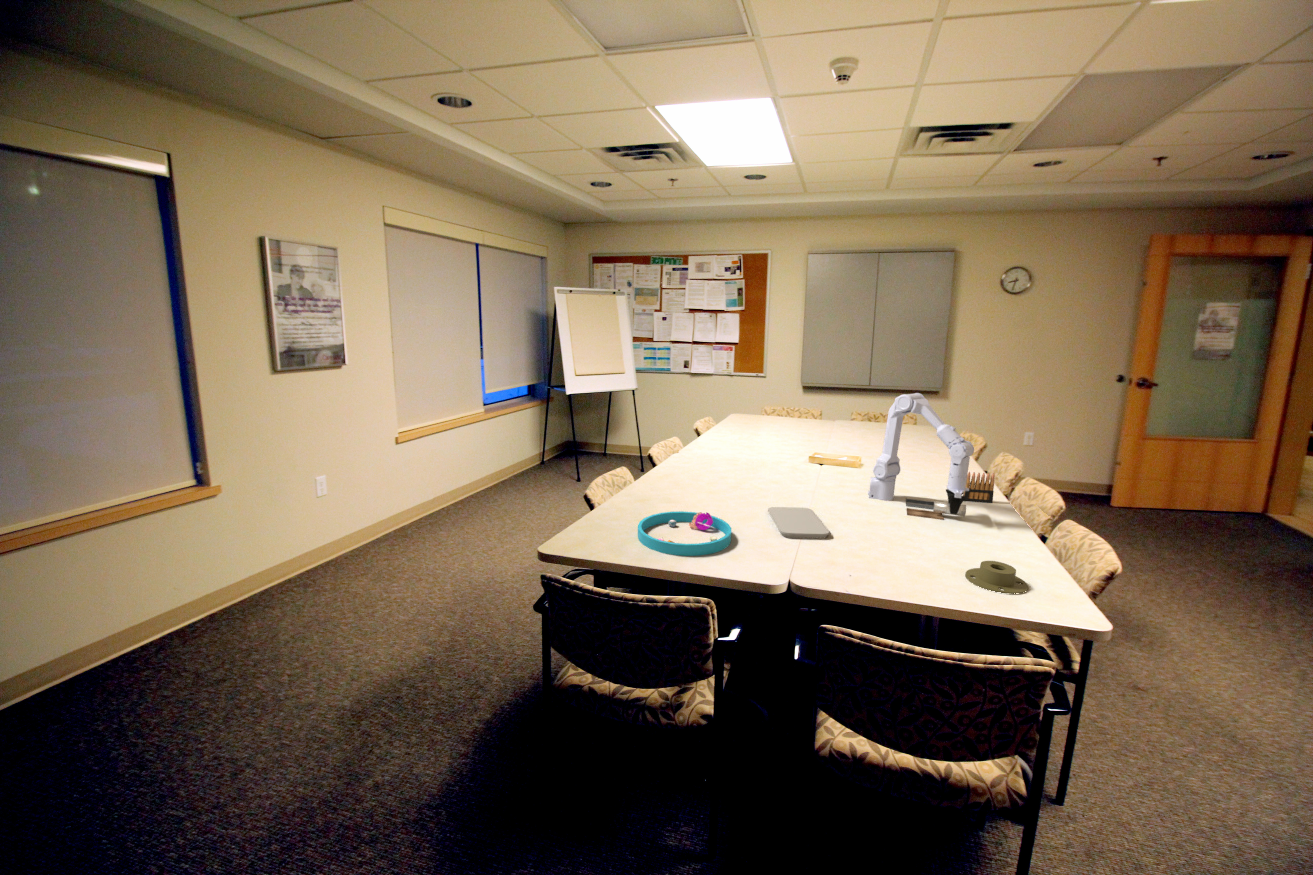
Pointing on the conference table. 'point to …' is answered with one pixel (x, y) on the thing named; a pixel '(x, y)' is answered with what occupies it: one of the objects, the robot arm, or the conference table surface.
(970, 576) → the flange
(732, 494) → the conference table surface
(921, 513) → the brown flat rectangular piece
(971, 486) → the ammunition clip
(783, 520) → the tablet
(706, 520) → the teal round ring
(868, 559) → the conference table surface
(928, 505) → the cradle
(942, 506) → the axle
